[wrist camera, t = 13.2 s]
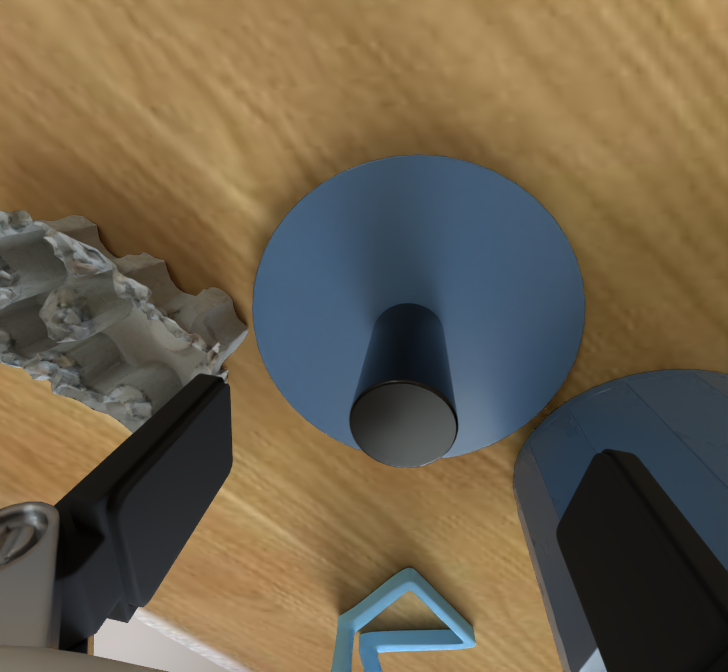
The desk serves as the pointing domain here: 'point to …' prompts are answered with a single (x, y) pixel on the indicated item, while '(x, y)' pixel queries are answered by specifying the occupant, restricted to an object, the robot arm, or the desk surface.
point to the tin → (655, 450)
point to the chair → (398, 640)
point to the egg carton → (105, 319)
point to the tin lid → (418, 308)
